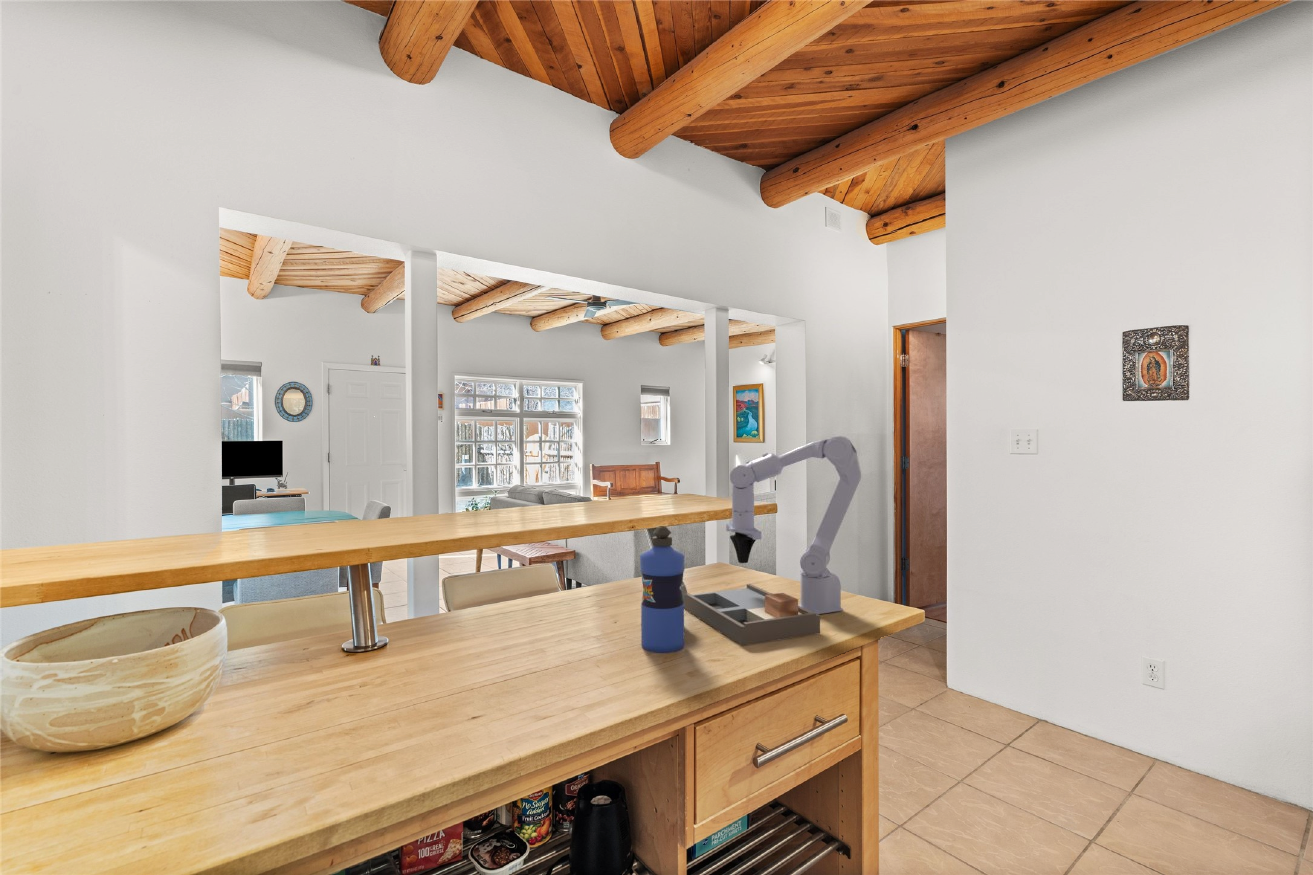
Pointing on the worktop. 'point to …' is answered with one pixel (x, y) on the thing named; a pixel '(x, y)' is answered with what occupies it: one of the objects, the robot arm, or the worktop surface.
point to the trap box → (749, 616)
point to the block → (781, 605)
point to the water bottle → (662, 595)
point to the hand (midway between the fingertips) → (743, 562)
